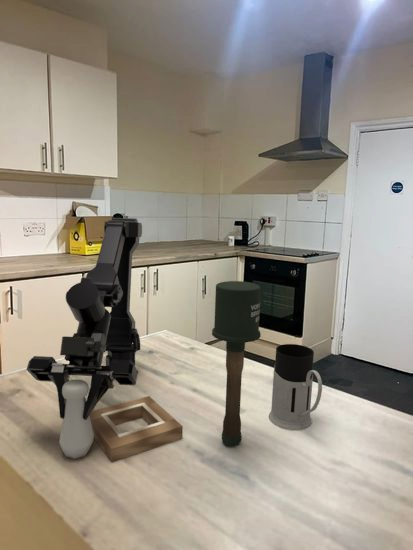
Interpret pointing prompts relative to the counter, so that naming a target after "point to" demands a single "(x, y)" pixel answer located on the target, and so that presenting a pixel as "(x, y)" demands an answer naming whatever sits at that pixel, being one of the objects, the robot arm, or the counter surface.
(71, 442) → the salt shaker
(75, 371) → the robot arm
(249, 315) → the potato masher grenade
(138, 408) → the socket board
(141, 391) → the counter surface
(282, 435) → the counter surface
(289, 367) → the glass holder
